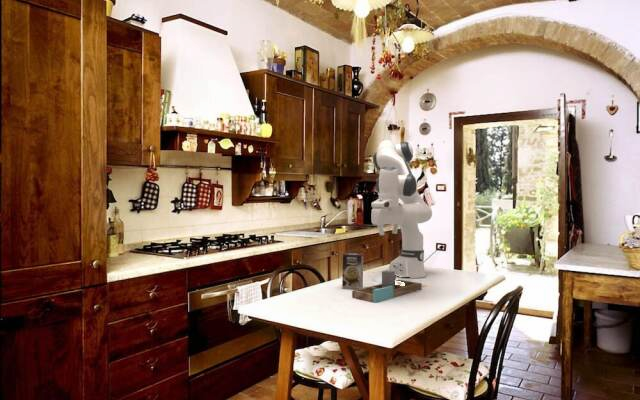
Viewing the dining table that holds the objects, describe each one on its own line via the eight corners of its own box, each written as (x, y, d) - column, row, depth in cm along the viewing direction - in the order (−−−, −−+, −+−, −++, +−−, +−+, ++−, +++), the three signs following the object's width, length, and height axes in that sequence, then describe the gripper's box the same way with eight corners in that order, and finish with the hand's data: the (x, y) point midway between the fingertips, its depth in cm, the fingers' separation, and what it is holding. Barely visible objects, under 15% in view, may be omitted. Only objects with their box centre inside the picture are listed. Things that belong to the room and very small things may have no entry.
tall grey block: (381, 293, 204) (382, 271, 204) (387, 292, 207) (387, 270, 207) (389, 295, 201) (389, 272, 201) (394, 293, 204) (394, 271, 204)
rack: (352, 297, 196) (352, 286, 196) (399, 285, 221) (399, 275, 221) (375, 302, 187) (375, 290, 187) (421, 289, 212) (421, 279, 212)
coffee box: (341, 288, 214) (342, 254, 214) (344, 285, 220) (344, 252, 220) (361, 289, 212) (361, 254, 211) (363, 286, 218) (363, 253, 218)
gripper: (396, 202, 213) (396, 232, 213) (368, 203, 198) (368, 235, 199) (407, 202, 208) (407, 233, 209) (380, 203, 194) (380, 236, 194)
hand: (388, 234), depth 203 cm, fingers open, 8 cm apart
